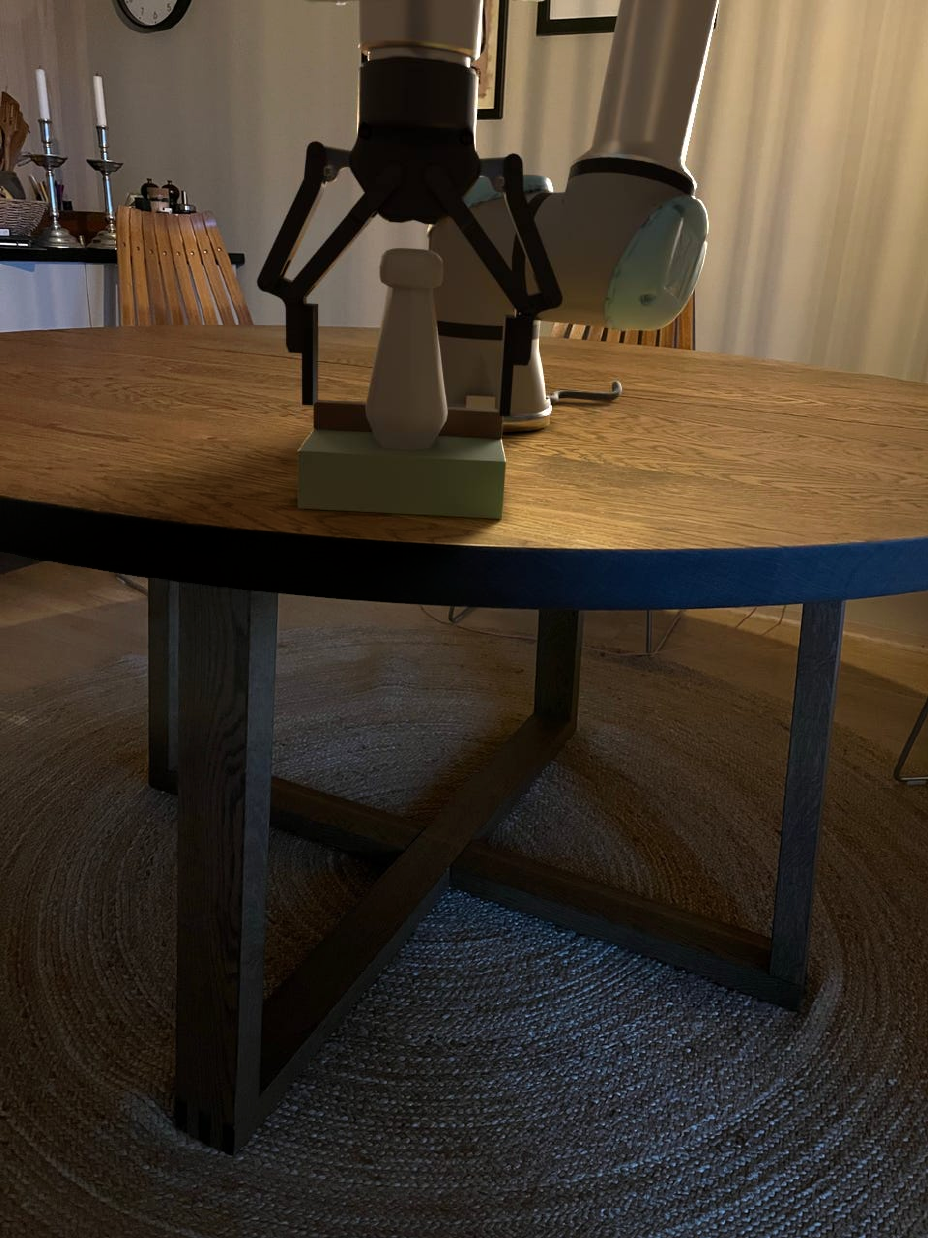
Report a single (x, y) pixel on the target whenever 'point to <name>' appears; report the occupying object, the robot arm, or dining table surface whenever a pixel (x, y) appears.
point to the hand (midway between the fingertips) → (407, 408)
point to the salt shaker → (408, 354)
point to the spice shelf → (402, 466)
